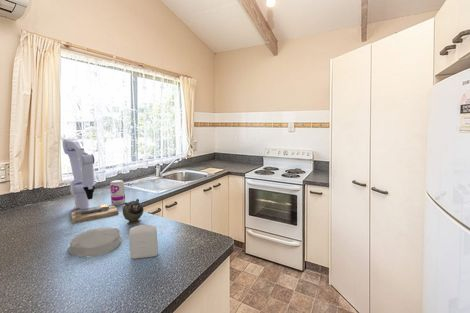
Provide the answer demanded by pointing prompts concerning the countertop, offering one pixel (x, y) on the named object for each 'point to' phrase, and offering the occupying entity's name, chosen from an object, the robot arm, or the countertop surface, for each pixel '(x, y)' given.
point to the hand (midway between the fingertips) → (90, 198)
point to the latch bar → (94, 208)
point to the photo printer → (143, 241)
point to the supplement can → (117, 192)
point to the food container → (95, 242)
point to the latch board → (93, 214)
